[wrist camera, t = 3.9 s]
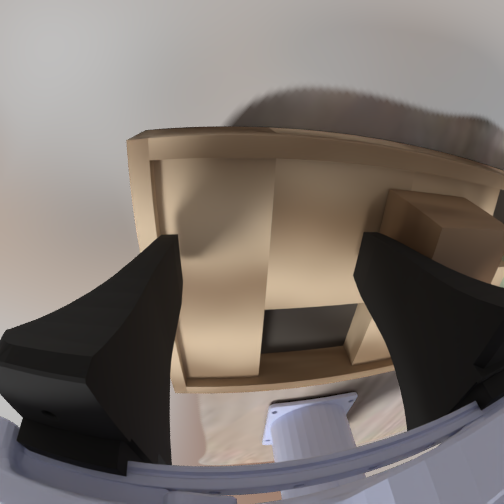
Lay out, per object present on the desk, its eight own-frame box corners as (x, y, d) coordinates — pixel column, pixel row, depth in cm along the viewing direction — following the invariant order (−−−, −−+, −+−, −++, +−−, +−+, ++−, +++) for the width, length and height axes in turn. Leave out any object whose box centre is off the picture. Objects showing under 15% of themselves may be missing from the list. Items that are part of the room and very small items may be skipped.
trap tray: (485, 318, 21) (499, 335, 18) (178, 360, 18) (175, 393, 15) (540, 185, 13) (561, 198, 11) (145, 130, 10) (126, 140, 8)
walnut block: (436, 280, 14) (470, 321, 11) (363, 288, 13) (396, 340, 10) (464, 197, 11) (512, 230, 8) (389, 188, 11) (442, 227, 8)
